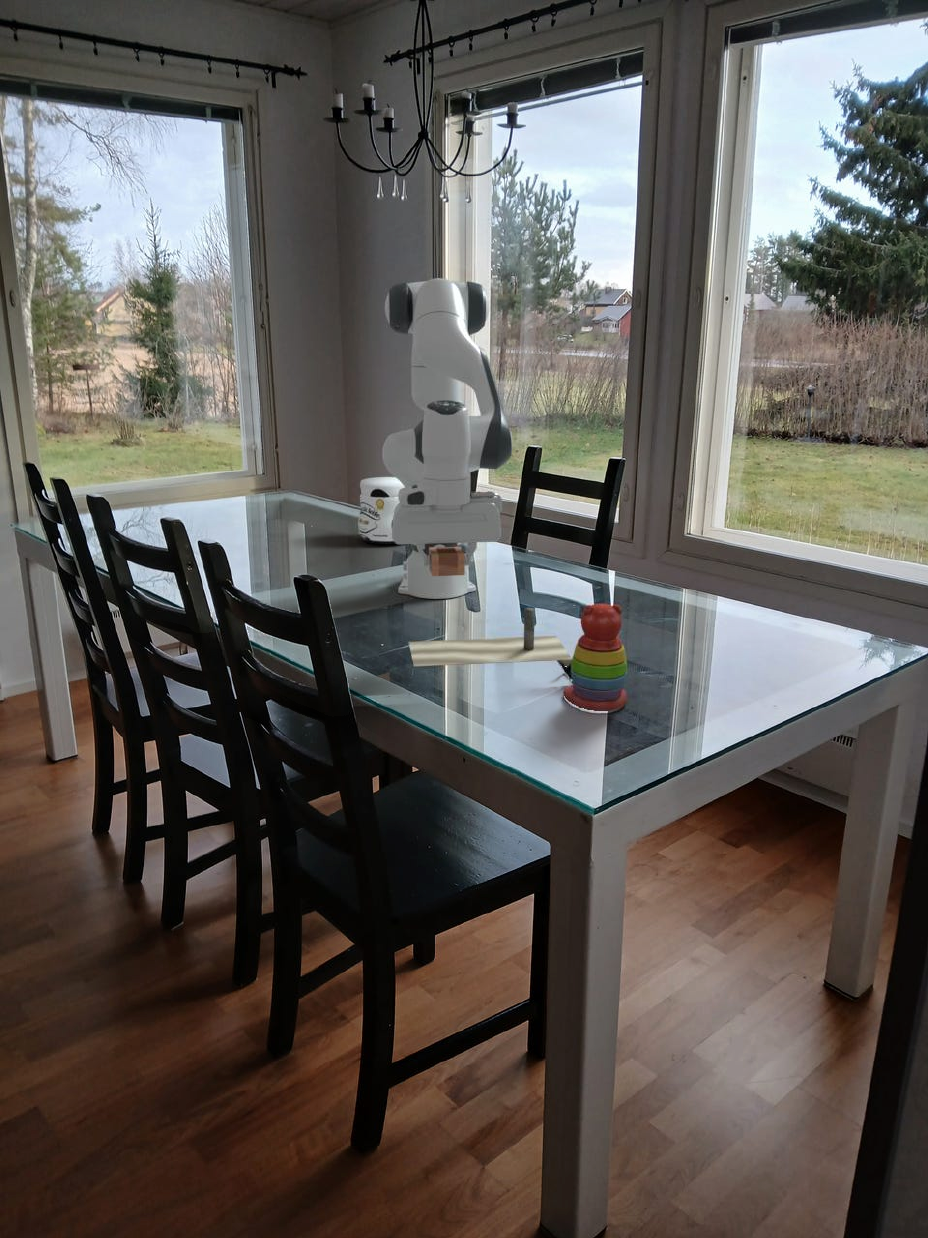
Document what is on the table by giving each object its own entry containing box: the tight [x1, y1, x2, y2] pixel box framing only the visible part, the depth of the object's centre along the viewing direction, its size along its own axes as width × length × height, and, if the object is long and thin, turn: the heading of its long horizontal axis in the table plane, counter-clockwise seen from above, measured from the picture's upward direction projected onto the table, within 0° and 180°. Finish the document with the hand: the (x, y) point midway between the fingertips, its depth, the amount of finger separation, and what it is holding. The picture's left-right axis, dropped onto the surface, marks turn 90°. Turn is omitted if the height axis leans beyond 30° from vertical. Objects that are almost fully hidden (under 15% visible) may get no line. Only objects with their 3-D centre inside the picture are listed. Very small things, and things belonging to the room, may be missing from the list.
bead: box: [429, 547, 466, 576], centre depth 176 cm, size 6×6×4 cm
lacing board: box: [407, 607, 573, 667], centre depth 182 cm, size 14×30×10 cm, turn 97°
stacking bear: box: [563, 603, 628, 711], centre depth 159 cm, size 11×10×18 cm
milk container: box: [357, 476, 405, 545], centre depth 278 cm, size 17×17×18 cm
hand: (446, 565), depth 177 cm, fingers closed on bead, 6 cm apart
